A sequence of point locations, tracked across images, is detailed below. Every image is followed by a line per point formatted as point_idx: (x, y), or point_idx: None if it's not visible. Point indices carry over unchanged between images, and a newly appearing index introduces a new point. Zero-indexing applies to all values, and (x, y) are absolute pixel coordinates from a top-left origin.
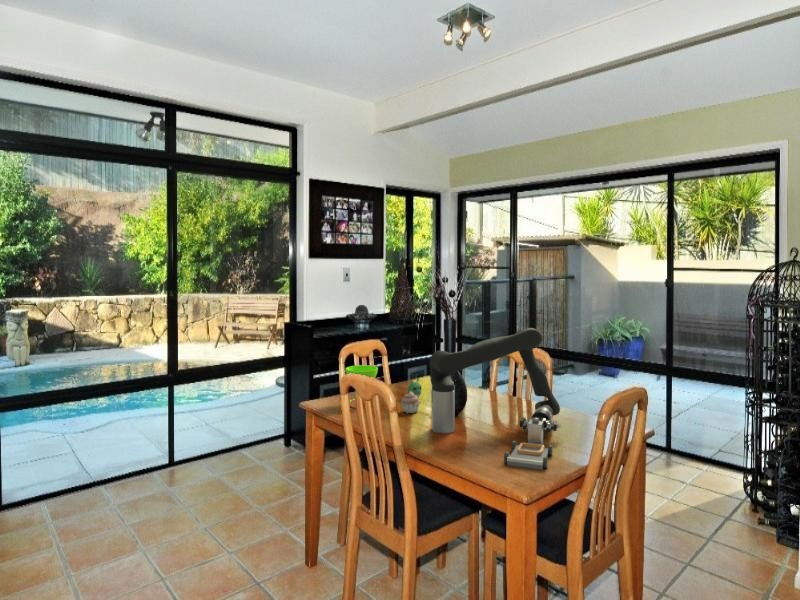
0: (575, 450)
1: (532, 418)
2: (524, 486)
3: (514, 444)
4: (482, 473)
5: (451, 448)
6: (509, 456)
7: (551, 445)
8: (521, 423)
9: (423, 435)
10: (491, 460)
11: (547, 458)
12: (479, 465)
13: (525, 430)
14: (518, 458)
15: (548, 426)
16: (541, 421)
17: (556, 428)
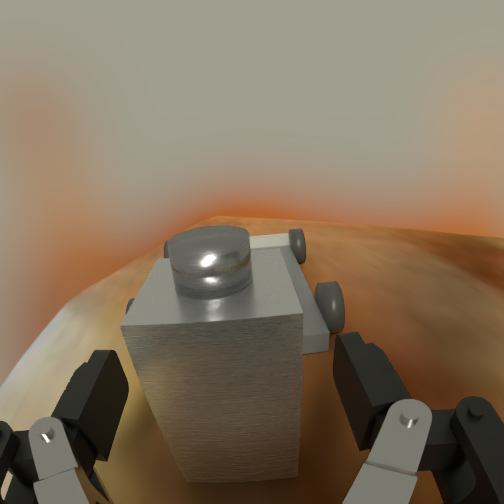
0: (15, 415)
1: (244, 229)
2: (219, 223)
3: (317, 286)
4: (317, 225)
5: (492, 264)
6: (294, 253)
7: (131, 302)
8: (447, 416)
9: None
10: (344, 257)
11: (165, 249)
12: (349, 237)
13: (335, 378)
14: (254, 238)
15: (84, 373)
16: (145, 314)
17: (7, 498)
